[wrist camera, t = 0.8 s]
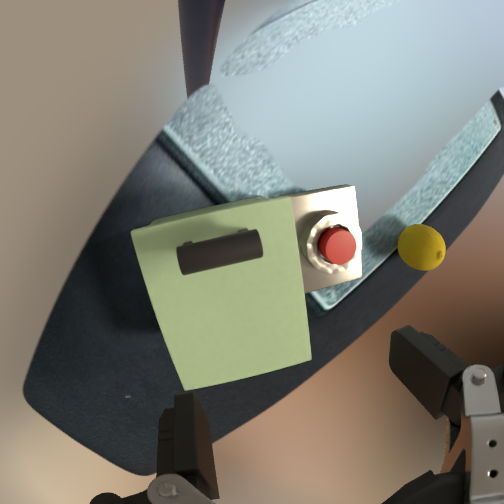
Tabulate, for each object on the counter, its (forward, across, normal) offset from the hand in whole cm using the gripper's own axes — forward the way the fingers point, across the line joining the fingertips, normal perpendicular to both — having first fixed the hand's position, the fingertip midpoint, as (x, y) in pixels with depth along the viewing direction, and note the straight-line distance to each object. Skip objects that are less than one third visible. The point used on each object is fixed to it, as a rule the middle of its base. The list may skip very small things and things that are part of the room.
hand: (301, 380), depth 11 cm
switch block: (+23, -10, +2) cm, 25 cm away
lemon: (+23, -22, +5) cm, 33 cm away
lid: (+13, +2, +2) cm, 14 cm away
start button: (+20, -10, +2) cm, 22 cm away
